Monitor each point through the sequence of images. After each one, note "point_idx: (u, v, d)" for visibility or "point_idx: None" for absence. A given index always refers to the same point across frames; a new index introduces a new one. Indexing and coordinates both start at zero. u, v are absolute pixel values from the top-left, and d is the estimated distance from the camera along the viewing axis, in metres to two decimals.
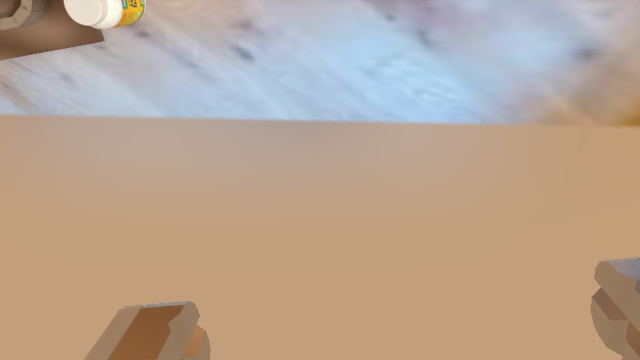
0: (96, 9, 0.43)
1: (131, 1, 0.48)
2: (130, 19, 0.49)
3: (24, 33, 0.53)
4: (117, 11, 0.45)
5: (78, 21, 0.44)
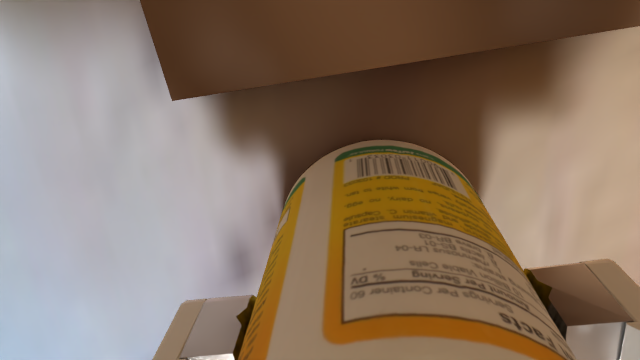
0: None
1: None
2: None
3: None
4: None
5: None
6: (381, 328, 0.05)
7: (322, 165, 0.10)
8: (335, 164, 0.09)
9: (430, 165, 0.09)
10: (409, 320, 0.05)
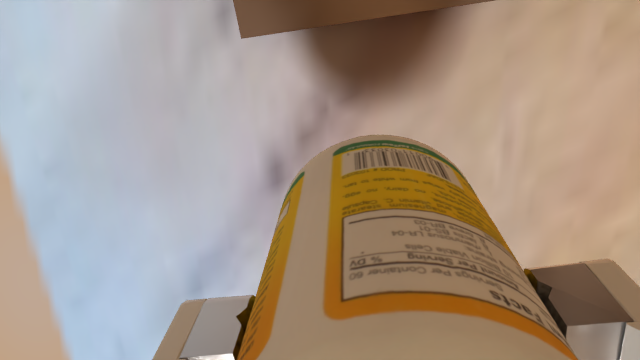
0: None
1: None
2: None
3: None
4: None
5: None
6: (379, 305, 0.05)
7: (321, 159, 0.10)
8: (333, 158, 0.10)
9: (425, 158, 0.09)
10: (404, 296, 0.05)
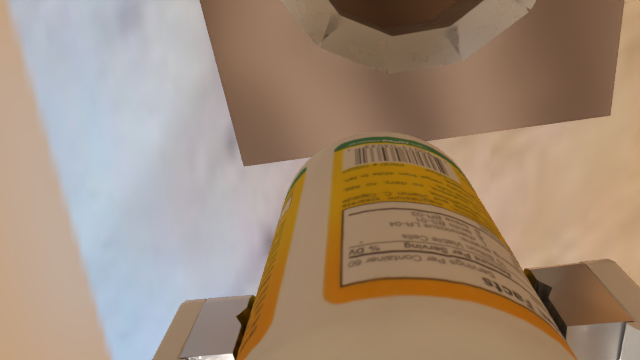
0: None
1: None
2: None
3: None
4: None
5: None
6: (376, 290, 0.05)
7: (322, 155, 0.10)
8: (334, 154, 0.10)
9: (424, 154, 0.09)
10: (400, 282, 0.05)
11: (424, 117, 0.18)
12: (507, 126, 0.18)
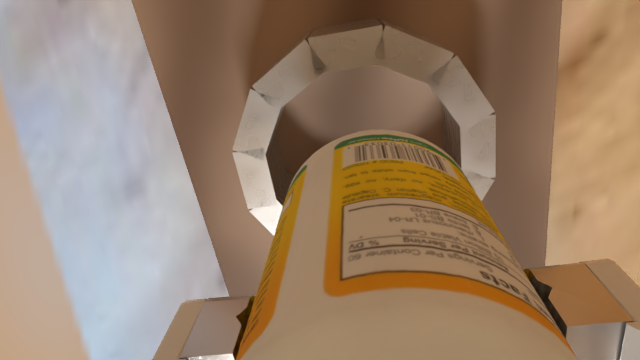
0: None
1: None
2: None
3: (234, 138, 0.18)
4: None
5: None
6: (375, 283, 0.05)
7: (322, 153, 0.10)
8: (334, 151, 0.10)
9: (423, 151, 0.10)
10: (399, 275, 0.05)
11: None
12: None
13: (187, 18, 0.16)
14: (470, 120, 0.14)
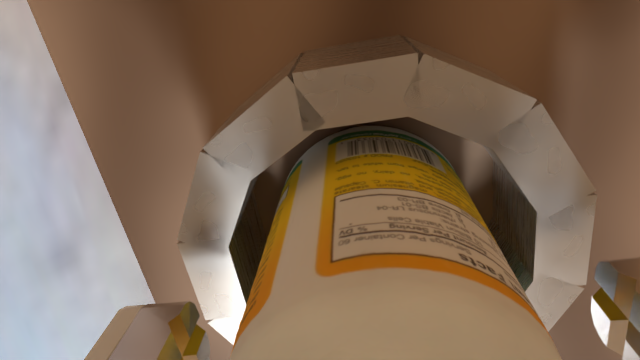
0: None
1: None
2: None
3: None
4: None
5: None
6: (362, 264, 0.06)
7: (317, 148, 0.11)
8: (328, 146, 0.10)
9: (412, 146, 0.10)
10: (384, 256, 0.06)
11: None
12: None
13: (115, 33, 0.11)
14: (554, 203, 0.09)
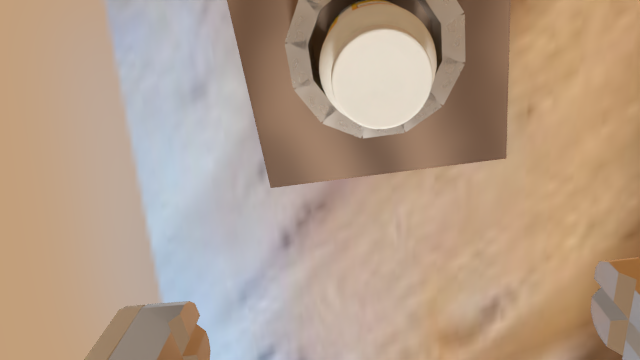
0: (370, 116, 0.17)
1: None
2: None
3: (280, 46, 0.25)
4: None
5: (342, 59, 0.16)
6: (368, 4, 0.18)
7: (345, 8, 0.23)
8: (351, 4, 0.23)
9: (389, 2, 0.23)
10: (375, 3, 0.18)
11: (388, 158, 0.28)
12: (441, 164, 0.28)
13: None
14: (447, 19, 0.21)
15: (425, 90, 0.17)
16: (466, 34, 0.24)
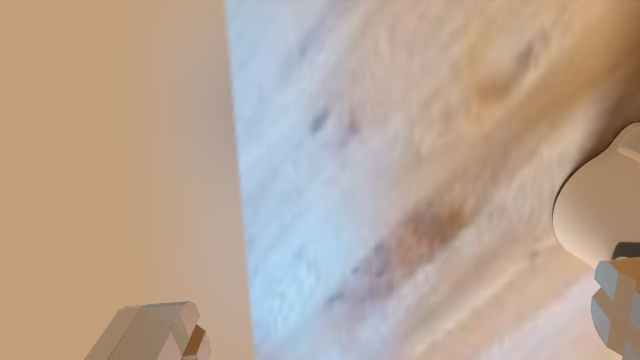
0: None
1: None
2: None
3: None
4: None
5: None
6: None
7: None
8: None
9: None
10: None
11: None
12: None
13: None
14: None
15: None
16: None
